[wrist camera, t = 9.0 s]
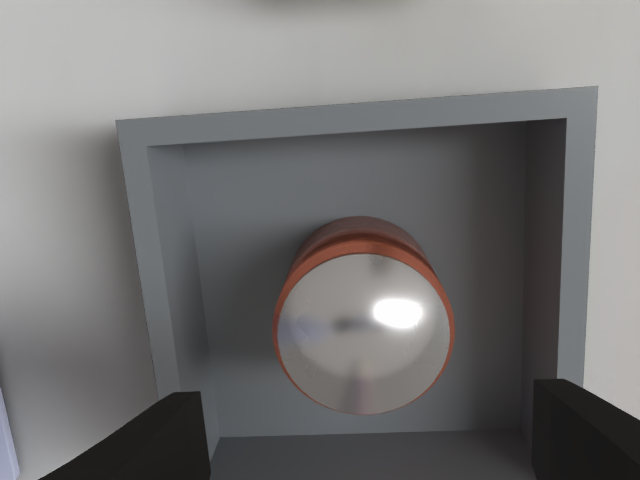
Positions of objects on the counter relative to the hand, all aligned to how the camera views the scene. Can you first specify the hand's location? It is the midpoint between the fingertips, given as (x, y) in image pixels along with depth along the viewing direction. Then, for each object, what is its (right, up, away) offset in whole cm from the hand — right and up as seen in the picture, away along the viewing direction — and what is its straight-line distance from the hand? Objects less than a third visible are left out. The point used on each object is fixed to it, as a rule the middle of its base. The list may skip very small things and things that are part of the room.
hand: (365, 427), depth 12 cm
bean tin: (+1, +2, +9) cm, 9 cm away
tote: (+1, +2, +9) cm, 9 cm away
